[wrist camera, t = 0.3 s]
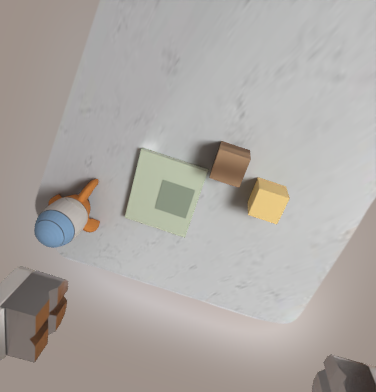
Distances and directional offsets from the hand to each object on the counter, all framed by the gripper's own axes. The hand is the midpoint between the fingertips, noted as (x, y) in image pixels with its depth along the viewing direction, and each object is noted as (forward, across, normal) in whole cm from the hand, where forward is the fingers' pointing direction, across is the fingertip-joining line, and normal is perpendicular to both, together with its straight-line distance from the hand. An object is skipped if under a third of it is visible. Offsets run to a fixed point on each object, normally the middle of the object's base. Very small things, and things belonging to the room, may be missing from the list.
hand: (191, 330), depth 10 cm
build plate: (+46, +7, +18) cm, 50 cm away
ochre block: (+46, -10, +13) cm, 49 cm away
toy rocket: (+46, +22, +25) cm, 57 cm away
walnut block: (+46, -2, +9) cm, 47 cm away
